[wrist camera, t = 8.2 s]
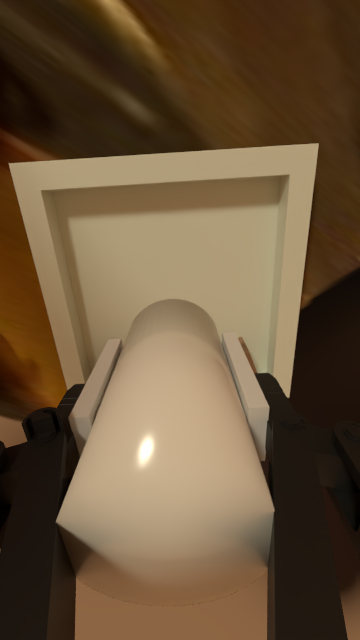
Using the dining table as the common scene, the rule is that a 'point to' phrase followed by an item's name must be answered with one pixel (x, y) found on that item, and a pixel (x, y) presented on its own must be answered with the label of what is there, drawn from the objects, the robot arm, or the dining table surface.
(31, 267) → the dining table surface
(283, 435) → the robot arm
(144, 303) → the tray
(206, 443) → the white rounded tapered cylinder
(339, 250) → the dining table surface
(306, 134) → the dining table surface
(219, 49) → the dining table surface
